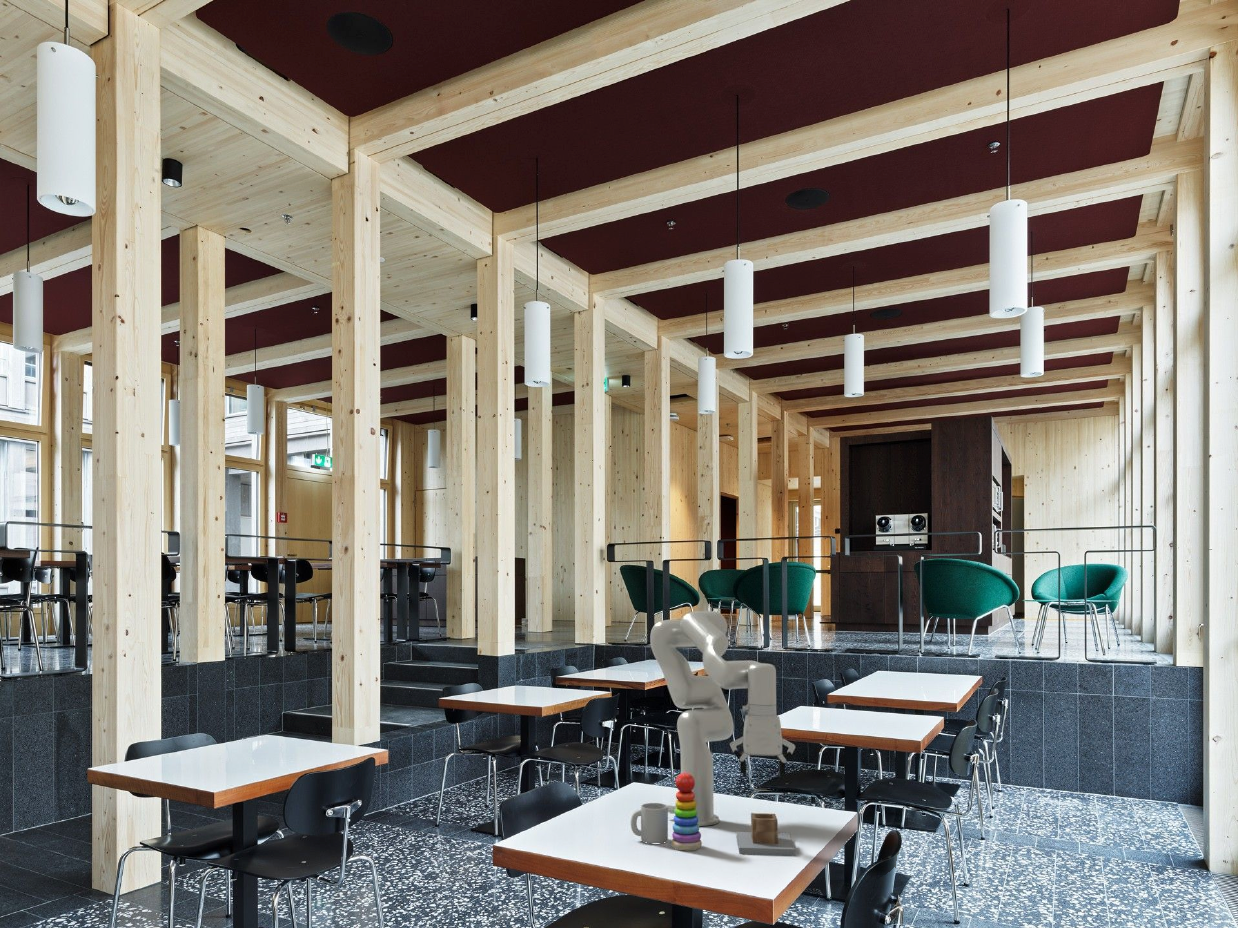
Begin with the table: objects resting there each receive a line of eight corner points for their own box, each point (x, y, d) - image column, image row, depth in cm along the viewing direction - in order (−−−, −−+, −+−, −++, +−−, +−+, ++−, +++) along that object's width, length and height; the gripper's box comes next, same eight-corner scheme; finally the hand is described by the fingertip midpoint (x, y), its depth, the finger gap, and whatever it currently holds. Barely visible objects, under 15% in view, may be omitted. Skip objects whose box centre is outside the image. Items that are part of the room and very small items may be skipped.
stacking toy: (671, 842, 230) (671, 769, 233) (701, 843, 229) (701, 769, 232) (670, 850, 222) (670, 775, 225) (701, 851, 221) (701, 775, 224)
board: (739, 853, 220) (739, 832, 221) (736, 837, 235) (736, 818, 236) (794, 855, 219) (794, 834, 220) (788, 839, 234) (788, 819, 234)
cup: (668, 844, 228) (668, 809, 229) (630, 844, 228) (631, 808, 229) (667, 837, 235) (666, 802, 236) (630, 836, 235) (630, 802, 236)
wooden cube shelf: (753, 843, 224) (752, 818, 225) (751, 836, 231) (750, 812, 231) (777, 843, 224) (777, 819, 225) (775, 837, 230) (775, 813, 231)
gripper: (730, 711, 229) (730, 778, 227) (796, 713, 228) (797, 780, 225) (729, 707, 237) (729, 772, 234) (793, 709, 235) (793, 774, 233)
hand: (762, 776), depth 230 cm, fingers open, 9 cm apart
